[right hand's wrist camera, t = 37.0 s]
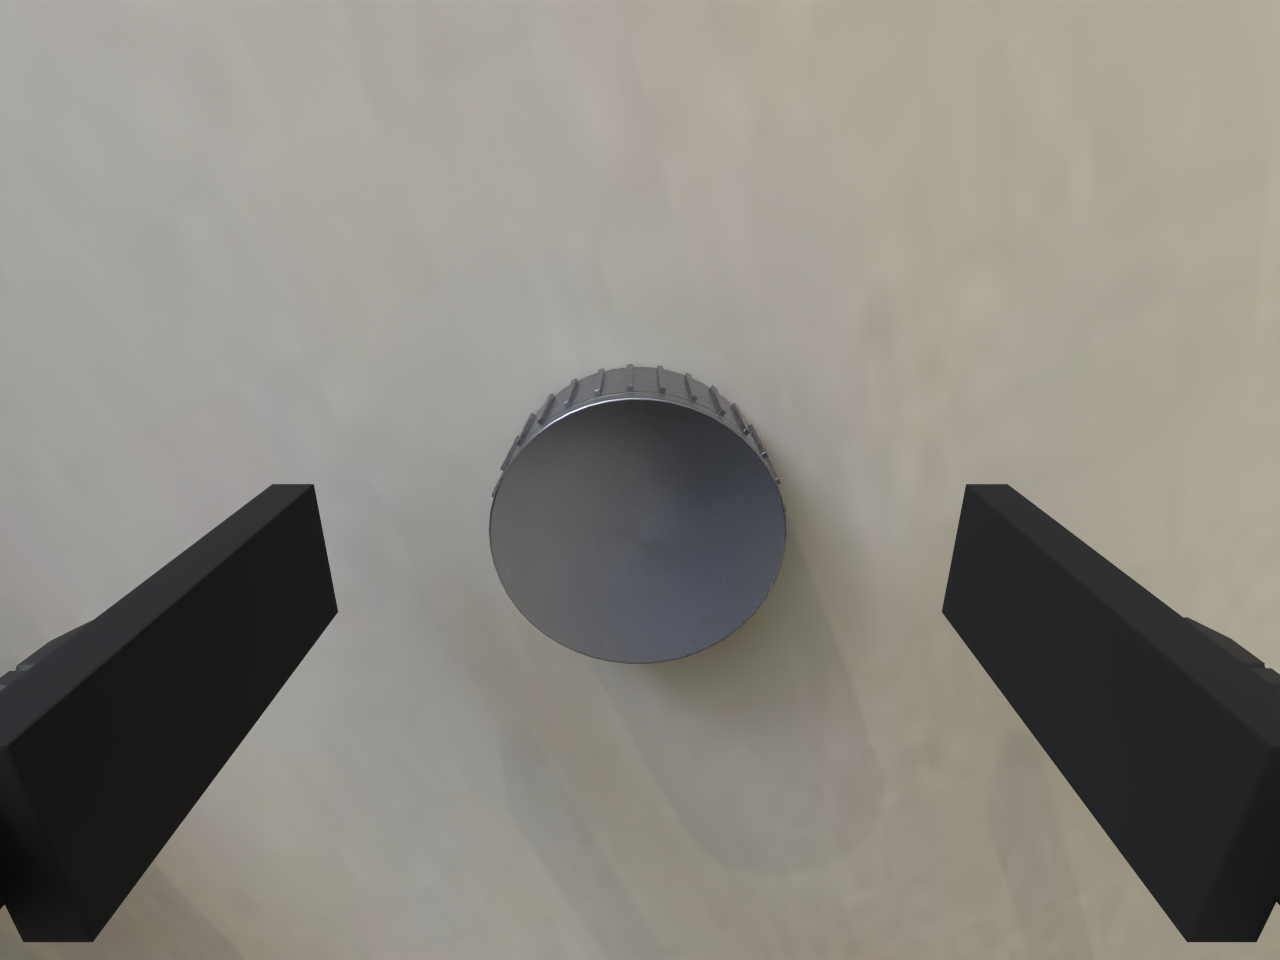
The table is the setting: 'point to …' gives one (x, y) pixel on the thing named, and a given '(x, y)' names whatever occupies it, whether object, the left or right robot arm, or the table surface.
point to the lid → (637, 517)
